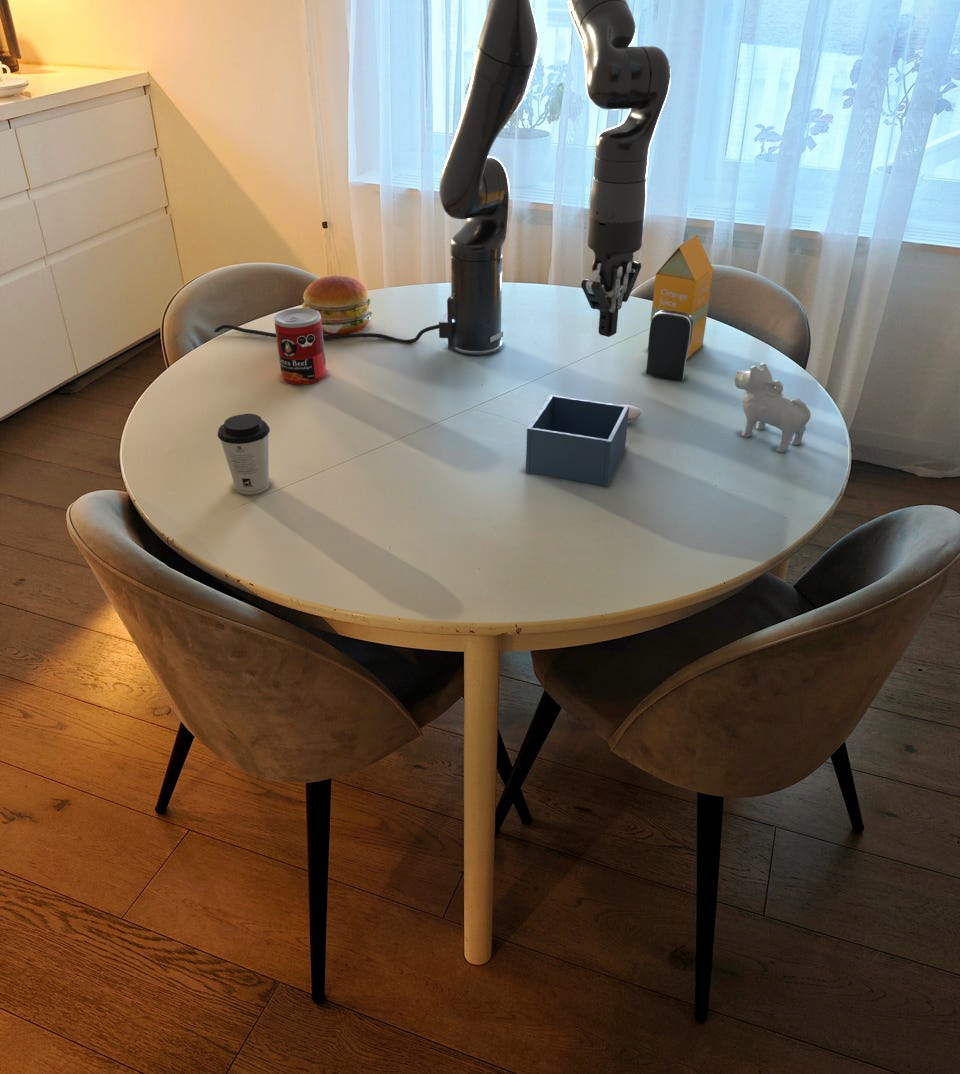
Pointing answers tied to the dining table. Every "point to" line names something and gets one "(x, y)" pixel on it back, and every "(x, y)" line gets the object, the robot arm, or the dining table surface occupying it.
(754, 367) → the dog figurine
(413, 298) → the dining table surface
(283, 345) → the canned food
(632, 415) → the cream rounded dome
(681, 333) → the battery charger
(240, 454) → the coffee cup
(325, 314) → the burger
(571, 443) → the blue open box
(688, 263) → the orange juice
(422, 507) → the dining table surface
